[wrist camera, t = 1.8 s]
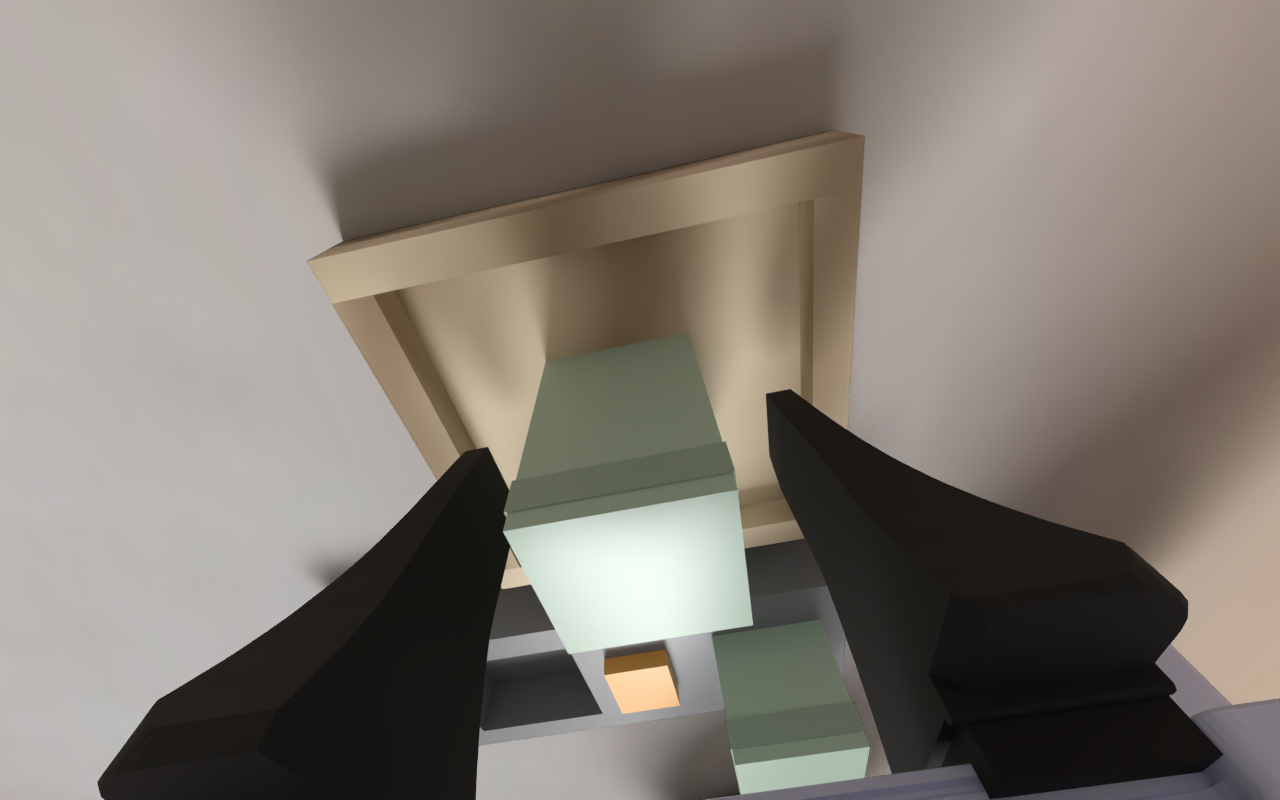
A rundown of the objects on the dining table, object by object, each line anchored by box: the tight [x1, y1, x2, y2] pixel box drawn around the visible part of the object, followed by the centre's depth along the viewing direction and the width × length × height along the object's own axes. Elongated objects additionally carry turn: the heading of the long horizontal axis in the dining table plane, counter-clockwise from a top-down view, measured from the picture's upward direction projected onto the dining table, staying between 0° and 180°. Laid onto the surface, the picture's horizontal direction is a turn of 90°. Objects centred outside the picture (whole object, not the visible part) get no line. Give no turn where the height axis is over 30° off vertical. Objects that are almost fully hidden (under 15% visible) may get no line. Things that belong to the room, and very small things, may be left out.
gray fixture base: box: [479, 539, 870, 795], centre depth 18 cm, size 20×8×6 cm, turn 101°
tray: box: [307, 131, 865, 589], centre depth 14 cm, size 12×12×2 cm
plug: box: [503, 333, 753, 654], centre depth 11 cm, size 4×4×6 cm
